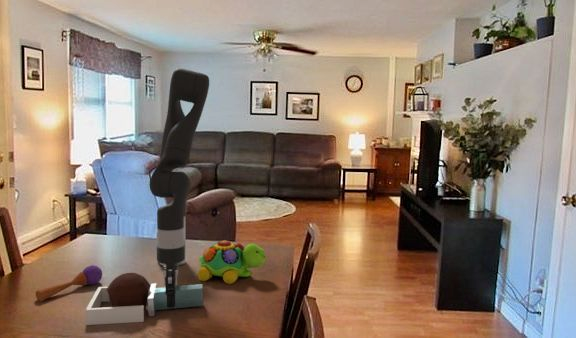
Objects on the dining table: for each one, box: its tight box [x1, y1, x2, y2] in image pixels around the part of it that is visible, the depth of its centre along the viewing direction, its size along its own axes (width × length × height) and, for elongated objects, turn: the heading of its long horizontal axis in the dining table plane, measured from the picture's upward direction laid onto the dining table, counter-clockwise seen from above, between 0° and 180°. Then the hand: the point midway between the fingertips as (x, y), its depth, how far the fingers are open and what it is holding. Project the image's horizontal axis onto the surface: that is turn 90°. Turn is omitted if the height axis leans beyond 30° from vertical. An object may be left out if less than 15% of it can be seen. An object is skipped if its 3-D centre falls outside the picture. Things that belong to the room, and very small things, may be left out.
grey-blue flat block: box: [147, 282, 204, 318], centre depth 131 cm, size 14×11×5 cm
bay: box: [85, 286, 149, 326], centre depth 128 cm, size 14×16×4 cm
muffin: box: [107, 272, 151, 312], centre depth 128 cm, size 12×11×10 cm
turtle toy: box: [196, 239, 267, 285], centre depth 157 cm, size 17×23×12 cm
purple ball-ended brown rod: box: [35, 264, 103, 303], centre depth 142 cm, size 6×6×20 cm
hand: (171, 303), depth 131 cm, fingers closed on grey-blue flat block, 3 cm apart
